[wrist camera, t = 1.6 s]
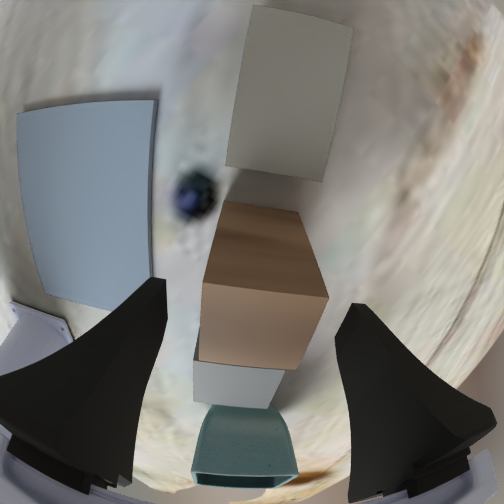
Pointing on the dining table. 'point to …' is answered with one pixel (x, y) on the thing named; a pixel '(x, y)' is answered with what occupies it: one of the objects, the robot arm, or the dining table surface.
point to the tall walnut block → (260, 289)
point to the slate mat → (89, 197)
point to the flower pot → (244, 449)
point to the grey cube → (233, 383)
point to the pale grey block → (288, 93)
